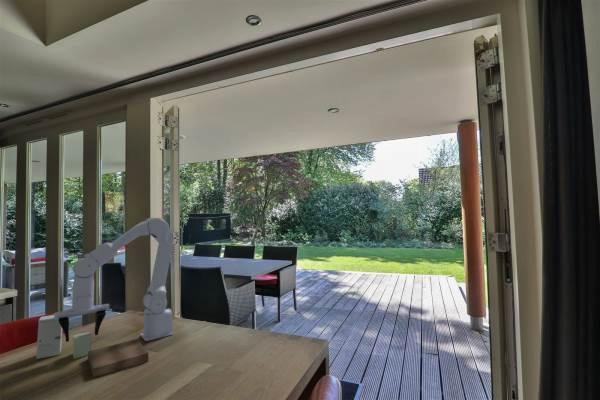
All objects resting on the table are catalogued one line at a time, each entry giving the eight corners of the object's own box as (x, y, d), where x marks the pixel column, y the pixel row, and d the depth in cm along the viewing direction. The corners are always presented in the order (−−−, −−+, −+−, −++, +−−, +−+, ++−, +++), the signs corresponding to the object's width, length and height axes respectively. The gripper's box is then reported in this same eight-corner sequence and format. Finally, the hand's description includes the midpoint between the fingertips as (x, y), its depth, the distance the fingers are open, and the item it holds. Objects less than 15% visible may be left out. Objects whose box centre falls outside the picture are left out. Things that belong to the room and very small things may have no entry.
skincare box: (35, 359, 94) (37, 320, 94) (38, 354, 98) (39, 316, 98) (60, 354, 97) (61, 316, 98) (62, 349, 101) (63, 313, 102)
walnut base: (137, 346, 103) (137, 338, 103) (148, 361, 92) (148, 352, 92) (87, 359, 93) (88, 351, 94) (93, 377, 83) (93, 368, 83)
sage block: (89, 349, 101) (90, 331, 101) (91, 354, 97) (91, 335, 97) (72, 354, 98) (73, 335, 98) (73, 358, 94) (74, 339, 94)
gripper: (107, 289, 106) (106, 328, 105) (54, 296, 97) (53, 339, 96) (110, 293, 101) (109, 334, 100) (55, 301, 91) (53, 346, 91)
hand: (82, 337), depth 98 cm, fingers open, 7 cm apart
